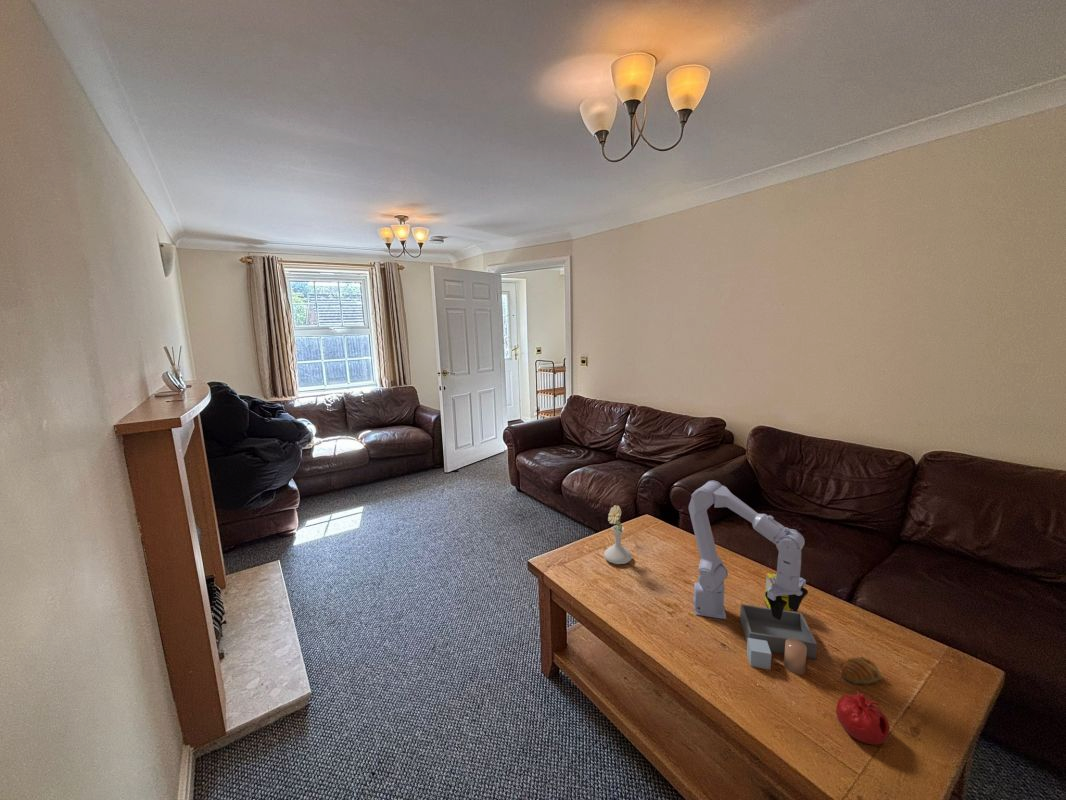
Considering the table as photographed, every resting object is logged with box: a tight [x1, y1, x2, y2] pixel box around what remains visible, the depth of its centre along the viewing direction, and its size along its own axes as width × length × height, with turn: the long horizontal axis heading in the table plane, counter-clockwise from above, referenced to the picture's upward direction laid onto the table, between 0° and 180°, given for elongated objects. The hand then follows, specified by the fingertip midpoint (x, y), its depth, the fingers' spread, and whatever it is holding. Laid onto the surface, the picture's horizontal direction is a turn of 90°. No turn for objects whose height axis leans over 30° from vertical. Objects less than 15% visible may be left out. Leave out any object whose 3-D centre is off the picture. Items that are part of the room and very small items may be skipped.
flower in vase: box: [603, 505, 633, 565], centre depth 167 cm, size 13×11×25 cm
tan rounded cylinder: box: [783, 638, 807, 676], centre depth 114 cm, size 5×5×7 cm
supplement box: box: [763, 572, 791, 611], centre depth 137 cm, size 6×6×11 cm
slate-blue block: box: [746, 638, 772, 670], centre depth 117 cm, size 5×5×5 cm
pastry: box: [841, 656, 882, 685], centre depth 111 cm, size 9×7×4 cm
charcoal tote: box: [739, 603, 818, 660], centre depth 125 cm, size 17×13×5 cm
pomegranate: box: [835, 690, 891, 745], centre depth 95 cm, size 10×10×9 cm
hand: (784, 613), depth 122 cm, fingers open, 7 cm apart
